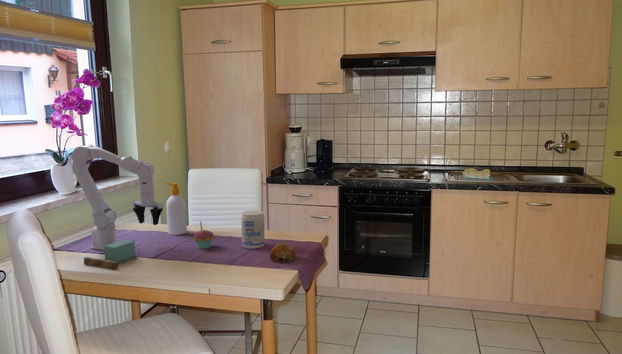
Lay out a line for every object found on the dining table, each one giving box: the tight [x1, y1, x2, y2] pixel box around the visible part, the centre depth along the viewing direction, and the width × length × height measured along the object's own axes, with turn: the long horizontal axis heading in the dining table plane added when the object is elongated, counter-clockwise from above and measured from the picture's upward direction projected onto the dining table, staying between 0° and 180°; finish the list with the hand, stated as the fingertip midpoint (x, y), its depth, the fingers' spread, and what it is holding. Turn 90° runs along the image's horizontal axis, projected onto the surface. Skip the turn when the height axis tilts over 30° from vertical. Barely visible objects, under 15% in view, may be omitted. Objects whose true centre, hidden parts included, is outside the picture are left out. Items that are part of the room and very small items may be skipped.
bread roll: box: [269, 242, 296, 263], centre depth 183 cm, size 10×10×8 cm
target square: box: [103, 256, 138, 266], centre depth 184 cm, size 10×10×1 cm
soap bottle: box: [164, 182, 188, 236], centre depth 221 cm, size 9×9×24 cm
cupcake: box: [193, 220, 215, 249], centre depth 199 cm, size 9×8×12 cm
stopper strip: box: [83, 256, 119, 270], centre depth 176 cm, size 16×1×2 cm, turn 66°
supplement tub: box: [241, 209, 265, 250], centre depth 199 cm, size 10×10×15 cm
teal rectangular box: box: [103, 239, 136, 262], centre depth 184 cm, size 6×10×6 cm, turn 153°
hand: (148, 223), depth 200 cm, fingers open, 7 cm apart
